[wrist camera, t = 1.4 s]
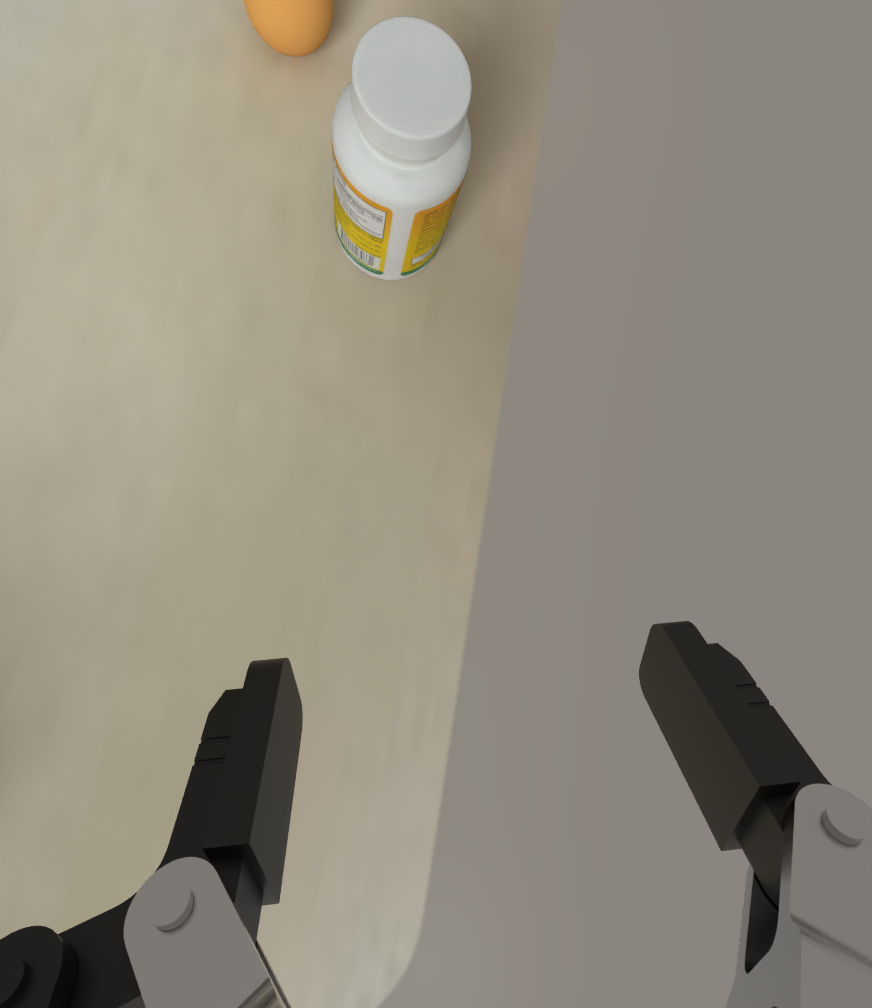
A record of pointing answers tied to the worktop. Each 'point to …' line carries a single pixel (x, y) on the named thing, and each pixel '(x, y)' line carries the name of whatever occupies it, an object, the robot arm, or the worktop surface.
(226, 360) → the worktop surface
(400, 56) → the supplement bottle
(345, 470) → the worktop surface
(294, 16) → the ball
